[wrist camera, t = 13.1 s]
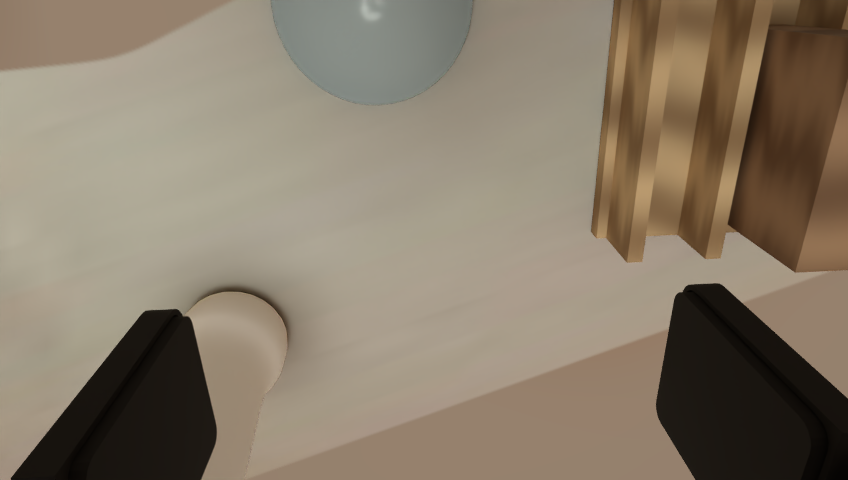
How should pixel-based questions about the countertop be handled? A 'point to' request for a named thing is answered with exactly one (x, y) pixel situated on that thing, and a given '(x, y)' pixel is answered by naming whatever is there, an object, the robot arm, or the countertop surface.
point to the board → (797, 151)
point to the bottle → (237, 371)
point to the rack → (683, 114)
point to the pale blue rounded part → (373, 44)
